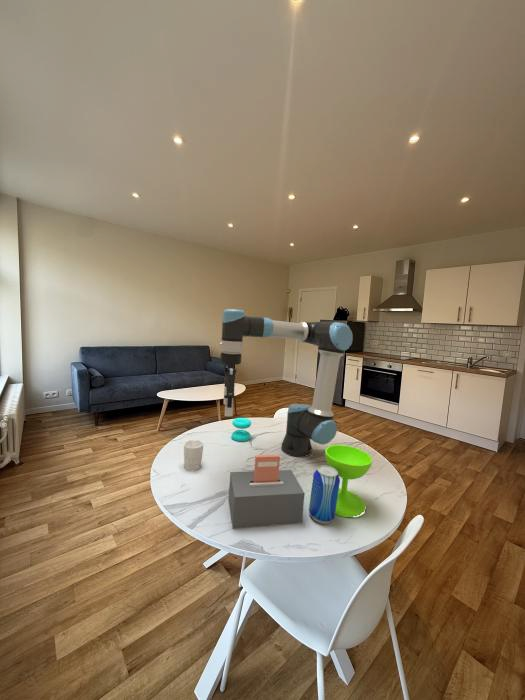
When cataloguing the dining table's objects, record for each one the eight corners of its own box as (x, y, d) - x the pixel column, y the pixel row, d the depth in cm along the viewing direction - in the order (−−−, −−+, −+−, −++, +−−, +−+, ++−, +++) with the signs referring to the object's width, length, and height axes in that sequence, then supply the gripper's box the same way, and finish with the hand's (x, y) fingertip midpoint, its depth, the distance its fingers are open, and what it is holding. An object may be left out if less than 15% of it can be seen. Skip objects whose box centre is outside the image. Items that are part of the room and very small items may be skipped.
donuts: (253, 418, 153) (248, 424, 144) (252, 436, 154) (247, 443, 145) (236, 415, 155) (230, 421, 146) (234, 433, 156) (228, 440, 147)
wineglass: (327, 484, 112) (332, 441, 111) (369, 499, 105) (375, 453, 103) (313, 505, 98) (319, 456, 97) (361, 524, 91) (368, 471, 89)
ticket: (276, 489, 95) (279, 454, 94) (277, 491, 94) (280, 456, 92) (252, 490, 93) (255, 455, 92) (253, 492, 92) (256, 457, 91)
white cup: (197, 473, 114) (198, 449, 113) (179, 469, 115) (180, 446, 114) (205, 464, 121) (206, 441, 120) (188, 460, 123) (189, 438, 122)
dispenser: (288, 495, 103) (291, 468, 102) (301, 522, 90) (304, 491, 89) (228, 499, 99) (230, 470, 98) (232, 528, 85) (234, 495, 84)
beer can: (307, 506, 98) (312, 462, 96) (331, 509, 97) (337, 465, 96) (310, 523, 89) (316, 475, 88) (336, 527, 89) (343, 479, 87)
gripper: (220, 348, 114) (217, 399, 116) (221, 356, 89) (217, 421, 91) (238, 349, 115) (235, 400, 117) (245, 357, 90) (240, 422, 92)
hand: (227, 409), depth 104 cm, fingers open, 13 cm apart
